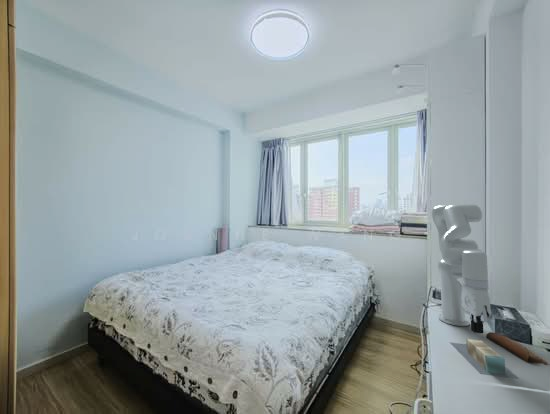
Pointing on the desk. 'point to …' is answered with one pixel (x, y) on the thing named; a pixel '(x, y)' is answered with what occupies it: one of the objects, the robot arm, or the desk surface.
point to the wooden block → (486, 356)
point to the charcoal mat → (463, 351)
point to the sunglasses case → (515, 348)
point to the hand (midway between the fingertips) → (477, 331)
